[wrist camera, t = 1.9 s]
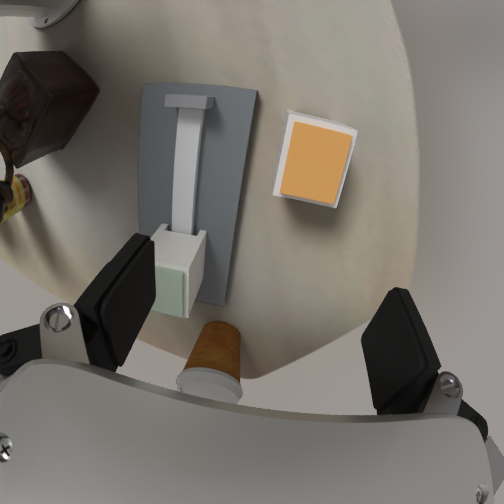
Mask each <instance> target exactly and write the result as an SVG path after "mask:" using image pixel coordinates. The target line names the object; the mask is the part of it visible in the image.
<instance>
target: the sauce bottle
mask: <svg viewBox="0 0 504 504" xmlns="http://www.w3.org/2000/svg"><path fill="white" fill-rule="evenodd" d="M1 181H5V179H3V180H1ZM11 188H12V190H13V193H14V196H13V202H12V203H10V204H9V205H8V206H5V210H4V219H3V221H2V222H1V223H3V222H4V221H6V220H7V219H8V218H10V217H11V216H13V215H14V214H16V213H17V212H19V211H21V210H22V209H23V208H24V207H25V206H27V205H28V204H29V202H30V198H31V193H30V187H29V184H28V181H27V180H26V179H25V178H24V177H23V176H22V175H21V174H15V175H13V182H12V186H11Z"/></svg>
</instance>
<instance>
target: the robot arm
mask: <svg viewBox="0 0 504 504" xmlns="http://www.w3.org/2000/svg"><path fill="white" fill-rule="evenodd" d="M78 1H79V0H0V16H20V17H27V19H28V21H29V23H30V24H31V25H32V26H34V27H39V28H43V27H48V26H51V25H53V24H55V23H56V22H58V21H59V20H61V19H62V18H63V17H64V16H65V15H67V14H68V13H69V12H70V11H71V10H72V9H73V7H74V6H75V5H76V4H77V3H78ZM155 299H156V278H155V243H154V241H152V240H151V238H150V236H147V235H143V234H138V233H135V234H134V235H133V236H132V237H131V238H130V239H129V241H128V242H127V243H126V244H125V245H124V246H123V247H122V249H121V250H120V251H119V252H118V253H117V254H116V256H115V257H114V258H113V259H112V260H111V261H110V262H108V263H107V264H106V265H105V266H104V268H103V269H102V270H101V271H100V272H99V274H98V275H97V276H96V277H95V279H94V280H93V281H92V282H91V284H90V285H89V286H88V287H87V289H86V290H85V291H84V292H83V294H82V295H81V296H80V298H79V299H78V300H77V301H76V303H75V304H74V305H73V306H72V305H70V304H68V303H57V304H54V305H51V306H50V307H48V308H47V309H46V310H45V311H44V312H43V313H42V315H41V317H40V324H37V325H33V326H30V327H27V328H24V329H20V330H17V331H13V332H10V333H6V334H3V335H1V336H0V504H494V495H495V493H496V491H497V490H498V488H499V487H500V485H501V483H502V481H503V480H504V457H503V456H502V454H501V452H500V451H499V449H498V447H497V446H496V444H495V443H494V442H493V440H492V438H491V437H490V436H488V437H487V435H488V426H487V422H486V420H485V419H484V418H483V417H482V416H481V415H480V414H479V413H478V412H476V411H475V410H474V409H473V408H472V407H470V406H469V405H468V404H467V403H466V402H464V401H463V400H462V395H463V388H462V385H461V382H460V381H459V379H458V378H457V377H456V376H455V375H454V374H452V373H450V372H447V371H445V372H441V373H440V374H438V369H440V367H441V364H440V361H439V359H438V357H437V354H436V351H435V349H434V346H433V344H432V341H431V339H430V337H429V334H428V332H427V329H426V327H425V325H424V323H423V321H422V318H421V316H420V314H419V312H418V310H417V308H416V305H415V303H414V301H413V299H412V297H411V295H410V293H409V291H408V290H407V289H403V288H398V287H395V288H393V289H392V290H390V291H389V292H388V293H387V295H386V297H385V298H384V300H383V302H382V304H381V305H380V307H379V309H378V310H377V312H376V314H375V315H374V317H373V318H372V320H371V322H370V323H369V325H368V326H367V328H366V330H365V331H364V333H363V335H362V338H361V343H362V348H363V353H364V358H365V362H366V367H367V372H368V377H369V383H370V388H371V394H372V400H373V406H374V408H375V409H377V415H325V414H310V413H298V412H288V411H278V410H270V409H262V408H256V407H249V406H244V405H237V404H232V403H227V402H222V401H217V400H212V399H207V398H203V397H198V396H194V395H190V394H186V393H182V392H178V391H174V390H170V389H167V388H163V387H160V386H156V385H153V384H149V383H146V382H143V381H140V380H136V379H133V378H130V377H127V376H124V375H121V374H118V373H115V372H116V369H117V368H118V366H120V367H121V366H122V365H123V364H124V362H125V360H126V358H127V356H128V354H129V351H130V350H131V348H132V345H133V343H134V341H135V339H136V337H137V335H138V333H139V331H140V329H141V327H142V325H143V323H144V322H145V320H146V318H147V316H148V314H149V312H150V310H151V308H152V306H153V304H154V302H155ZM390 414H391V415H390Z"/></svg>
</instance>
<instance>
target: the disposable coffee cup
mask: <svg viewBox="0 0 504 504" xmlns="http://www.w3.org/2000/svg"><path fill="white" fill-rule="evenodd" d="M176 384H177V389H178V392H182V393H186V394H190V395H194V396H198V397H203V398H207V399H212V400H217V401H222V402H227V403H232V404H237V403H238V401H239V399H241V397H242V394H243V392H242V388H241V385H240V333H239V331H238V330H237V329H236V328H235V327H234V326H232V325H230V324H228V323H225V322H218V321H216V322H210V323H208V324H206V325H205V326H204V327H203V329H202V331H201V333H200V336H199V338H198V340H197V342H196V344H195V346H194V348H193V350H192V352H191V355H190V357H189V359H188V361H187V363H186V365H185V367H184V369H183V371H182V372H181V373H180V374H179V375H178V376H177V379H176Z"/></svg>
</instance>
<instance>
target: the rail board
mask: <svg viewBox="0 0 504 504" xmlns="http://www.w3.org/2000/svg"><path fill="white" fill-rule="evenodd" d="M257 92H258V91H257V90H252V89H244V88H236V87H227V86H217V85H205V84H188V83H143V92H142V102H141V114H140V130H139V154H138V205H139V230H140V234H143V235H147V236H150V238H151V240H152V241H154V243H155V278H156V299H155V302H154V304H153V306H152V308H151V311H155V312H159V313H163V314H167V315H171V316H176V317H180V318H183V317H185V318H189V315H190V312H191V309H192V307H193V304H194V301H199V302H203V303H208V304H213V305H218V306H224V304H225V300H226V293H227V286H228V278H229V271H230V264H231V257H232V250H233V243H234V236H235V229H236V222H237V215H238V209H239V202H240V195H241V189H242V183H243V176H244V170H245V163H246V157H247V151H248V145H249V139H250V133H251V127H252V121H253V115H254V109H255V103H256V98H257Z"/></svg>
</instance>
